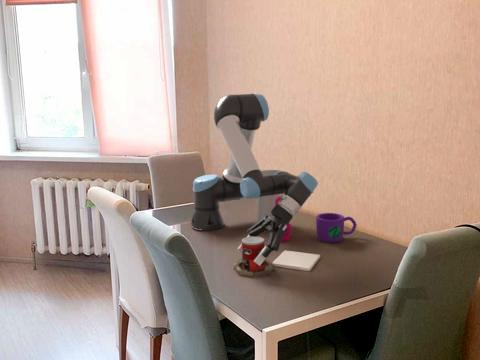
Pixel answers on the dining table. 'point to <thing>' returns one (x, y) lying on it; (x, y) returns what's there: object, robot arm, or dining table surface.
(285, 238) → the pepper mill
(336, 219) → the mug
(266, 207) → the cylinder vase
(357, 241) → the dining table surface
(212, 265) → the dining table surface
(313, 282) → the dining table surface
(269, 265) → the wooden polygonal ring
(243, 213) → the dining table surface
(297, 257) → the coaster
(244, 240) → the canned food
